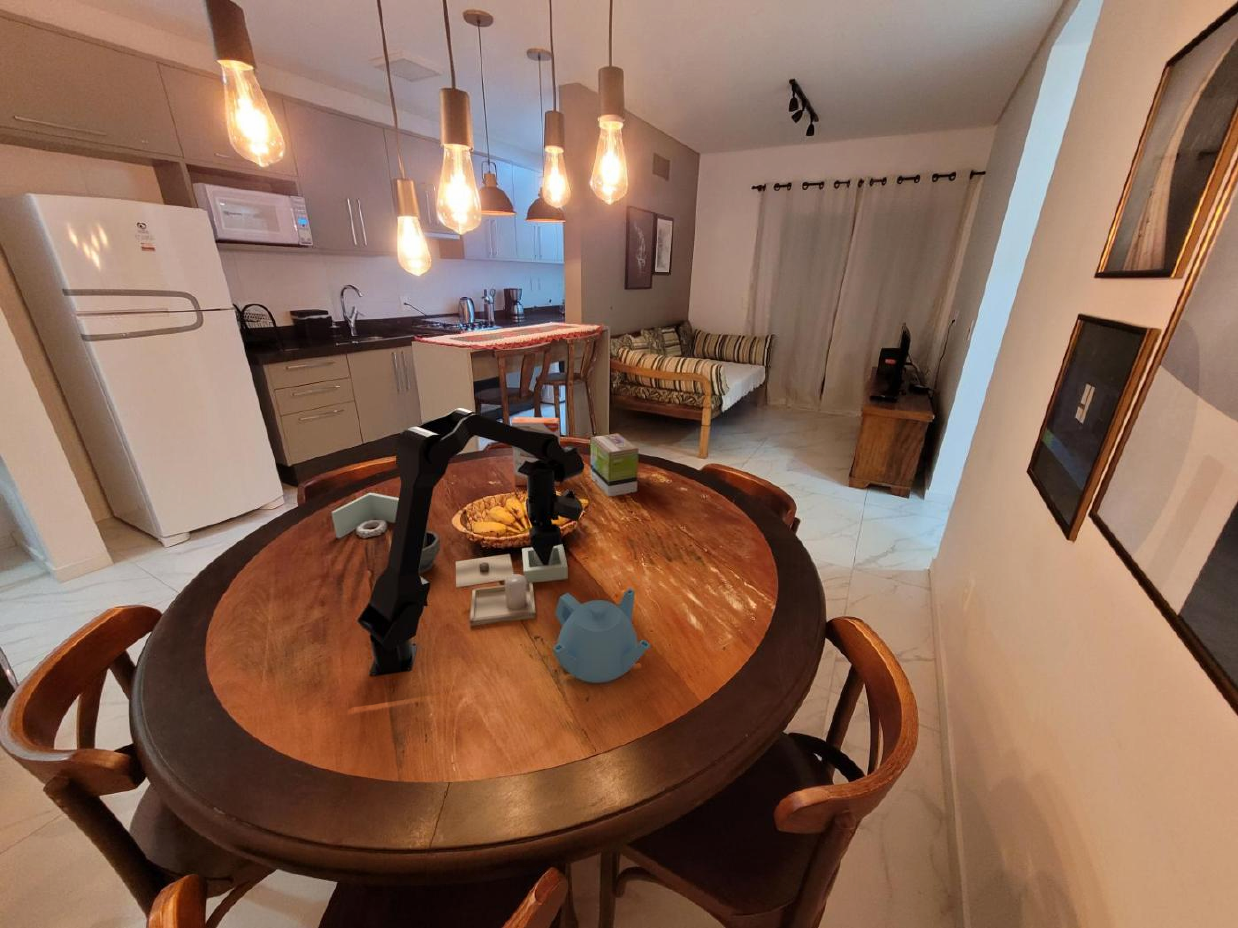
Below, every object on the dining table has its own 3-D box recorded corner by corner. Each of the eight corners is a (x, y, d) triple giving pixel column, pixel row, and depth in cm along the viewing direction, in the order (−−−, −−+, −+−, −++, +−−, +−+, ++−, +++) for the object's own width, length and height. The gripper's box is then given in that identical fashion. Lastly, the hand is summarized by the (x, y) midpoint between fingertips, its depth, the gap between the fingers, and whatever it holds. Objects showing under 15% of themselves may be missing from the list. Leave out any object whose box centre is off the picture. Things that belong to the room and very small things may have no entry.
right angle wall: (337, 539, 118) (331, 512, 115) (374, 517, 129) (369, 492, 126) (376, 548, 115) (371, 520, 112) (411, 525, 125) (407, 499, 122)
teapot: (636, 625, 91) (638, 577, 87) (649, 688, 77) (652, 634, 73) (555, 629, 89) (553, 581, 86) (553, 694, 76) (551, 640, 72)
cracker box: (514, 486, 148) (510, 421, 141) (517, 479, 154) (513, 416, 146) (559, 486, 149) (558, 422, 141) (561, 479, 155) (559, 416, 147)
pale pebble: (527, 608, 94) (526, 584, 92) (506, 610, 93) (504, 587, 91) (526, 595, 98) (525, 573, 96) (506, 598, 97) (504, 575, 95)
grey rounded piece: (553, 572, 105) (552, 550, 103) (535, 573, 105) (533, 551, 103) (552, 562, 109) (552, 541, 107) (535, 564, 108) (533, 542, 106)
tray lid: (514, 580, 103) (514, 573, 102) (456, 589, 100) (455, 582, 99) (509, 556, 112) (509, 549, 111) (455, 563, 108) (455, 557, 108)
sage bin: (567, 580, 104) (567, 566, 102) (524, 585, 102) (523, 571, 100) (562, 557, 112) (562, 544, 111) (522, 561, 110) (522, 548, 109)
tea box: (589, 479, 155) (589, 435, 150) (617, 474, 159) (618, 432, 154) (608, 497, 143) (608, 451, 137) (638, 492, 147) (639, 447, 141)
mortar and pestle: (432, 581, 102) (425, 532, 98) (388, 580, 102) (379, 531, 98) (450, 553, 113) (444, 507, 108) (410, 552, 113) (403, 506, 108)
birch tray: (535, 619, 92) (535, 612, 91) (470, 627, 89) (469, 620, 88) (532, 588, 101) (532, 581, 100) (473, 595, 98) (472, 588, 98)
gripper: (587, 505, 93) (587, 573, 98) (573, 469, 110) (574, 529, 115) (528, 510, 90) (532, 579, 96) (524, 472, 107) (527, 533, 113)
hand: (543, 553), depth 105 cm, fingers open, 9 cm apart
